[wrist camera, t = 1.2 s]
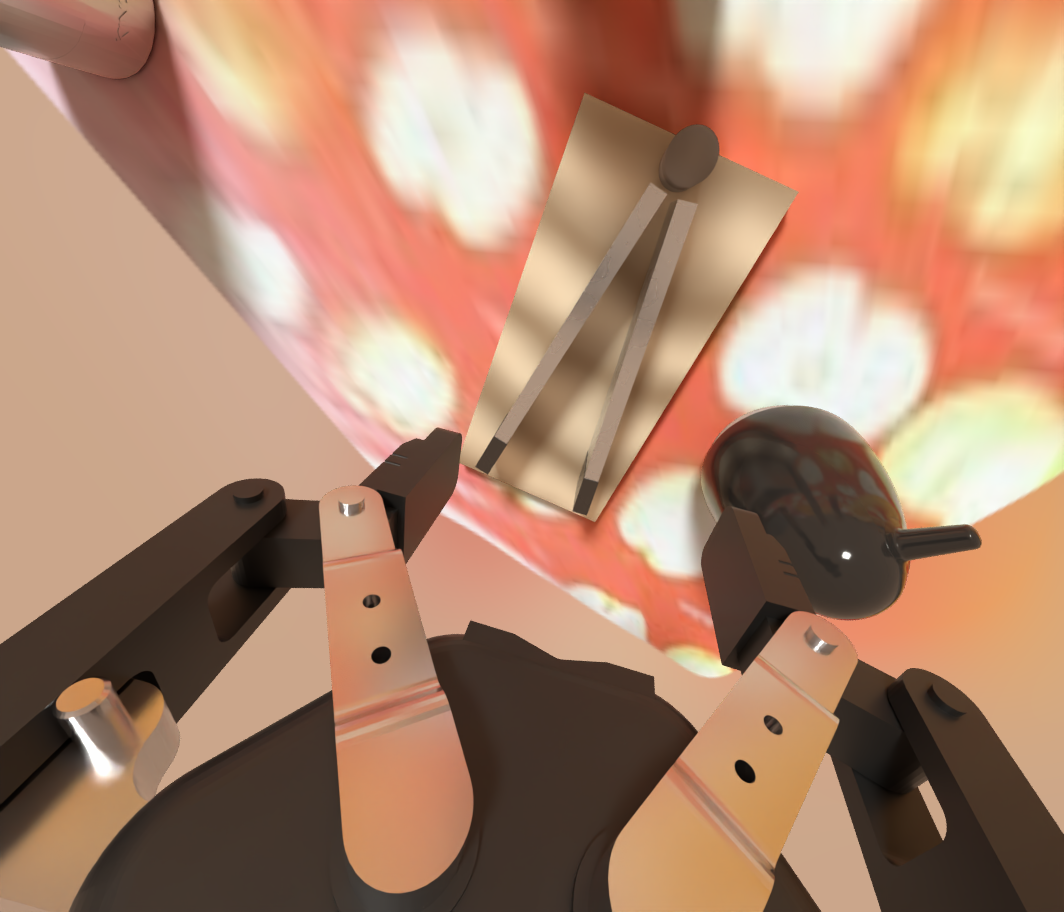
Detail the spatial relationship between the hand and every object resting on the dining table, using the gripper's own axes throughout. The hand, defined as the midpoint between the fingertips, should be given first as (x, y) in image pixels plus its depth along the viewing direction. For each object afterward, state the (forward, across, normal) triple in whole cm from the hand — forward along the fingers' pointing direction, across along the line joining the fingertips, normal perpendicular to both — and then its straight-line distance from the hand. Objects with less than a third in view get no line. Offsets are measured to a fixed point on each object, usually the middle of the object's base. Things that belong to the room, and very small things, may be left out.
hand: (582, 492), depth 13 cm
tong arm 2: (+19, -1, +1) cm, 19 cm away
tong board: (+20, +1, +1) cm, 21 cm away
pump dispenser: (+21, -14, +6) cm, 26 cm away
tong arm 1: (+19, +3, +1) cm, 19 cm away
